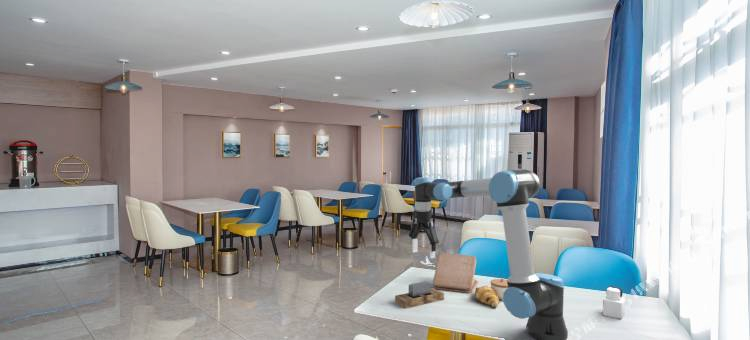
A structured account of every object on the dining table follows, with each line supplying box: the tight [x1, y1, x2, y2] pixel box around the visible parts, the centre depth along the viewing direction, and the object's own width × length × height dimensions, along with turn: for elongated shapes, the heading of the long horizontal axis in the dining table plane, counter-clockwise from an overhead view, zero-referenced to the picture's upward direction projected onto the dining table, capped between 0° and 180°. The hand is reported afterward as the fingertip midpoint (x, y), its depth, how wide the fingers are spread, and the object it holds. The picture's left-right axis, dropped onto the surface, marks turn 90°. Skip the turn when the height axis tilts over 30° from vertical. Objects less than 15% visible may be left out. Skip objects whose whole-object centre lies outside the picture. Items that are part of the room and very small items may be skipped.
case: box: [432, 252, 479, 294], centre depth 230 cm, size 20×21×16 cm
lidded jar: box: [490, 278, 508, 301], centre depth 211 cm, size 11×11×9 cm
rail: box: [394, 287, 445, 309], centre depth 208 cm, size 22×9×3 cm, turn 120°
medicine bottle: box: [602, 285, 626, 320], centre depth 189 cm, size 7×7×12 cm
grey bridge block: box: [408, 280, 431, 298], centre depth 208 cm, size 10×4×8 cm, turn 120°
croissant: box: [474, 285, 500, 308], centre depth 207 cm, size 21×10×8 cm, turn 12°
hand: (423, 255), depth 206 cm, fingers open, 13 cm apart
